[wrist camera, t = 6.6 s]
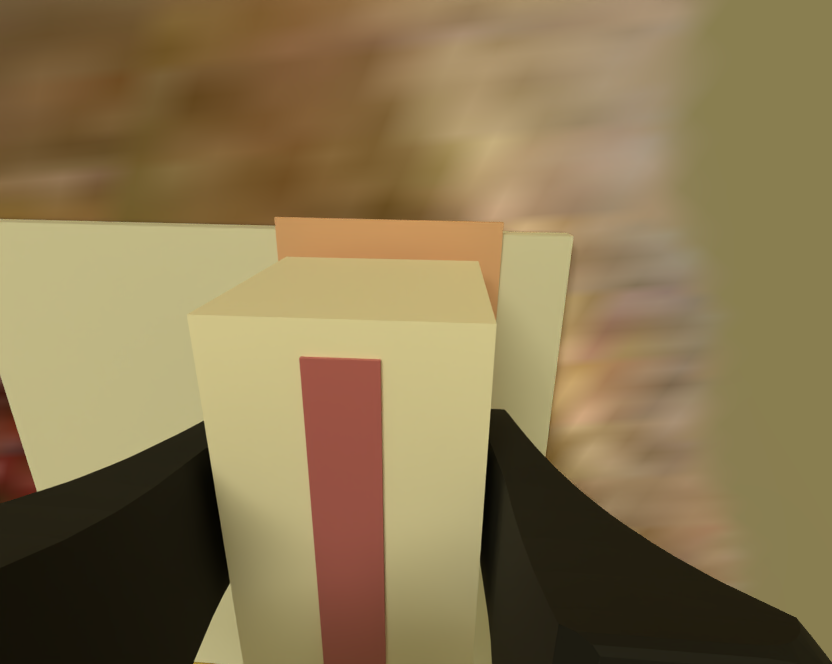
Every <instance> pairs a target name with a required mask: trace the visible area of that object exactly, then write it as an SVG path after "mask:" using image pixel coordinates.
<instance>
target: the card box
mask: <svg viewBox="0 0 832 664" xmlns="http://www.w3.org/2000/svg"><path fill="white" fill-rule="evenodd" d="M187 320H188V326H189V332H190V338H191V344H192V350H193V357H194V363H195V369H196V375H197V381H198V387H199V394H200V400H201V406H202V412H203V418H204V424H205V431H206V437H207V443H208V449H209V455H210V461H211V468H212V474H213V480H214V486H215V492H216V498H217V505H218V511H219V517H220V523H221V529H222V535H223V542H224V548H225V554H226V560H227V566H228V572H229V579H230V585H231V591H232V597H233V603H234V609H235V616H236V622H237V628H238V634H239V640H240V646H241V652H242V659H243V664H473V650H474V636H475V621H476V607H477V593H478V579H479V565H480V551H481V537H482V523H483V509H484V495H485V481H486V467H487V453H488V439H489V425H490V411H491V397H492V383H493V369H494V355H495V341H496V327H497V323H496V320H495V317H494V313H493V310H492V306H491V303H490V299H489V296H488V292H487V289H486V285H485V282H484V279H483V275H482V272H481V268H480V265H479V261H454V260H410V259H366V258H321V257H285V258H283V259H282V260H280V261H278V262H276V263H275V264H273V265H271V266H269V267H268V268H266V269H264V270H263V271H261V272H259V273H257V274H256V275H254V276H252V277H251V278H249V279H247V280H245V281H244V282H242V283H240V284H238V285H237V286H235V287H233V288H232V289H230V290H228V291H226V292H225V293H223V294H221V295H220V296H218V297H216V298H214V299H213V300H211V301H209V302H207V303H206V304H204V305H202V306H201V307H199V308H197V309H195V310H194V311H192V312H190V313H189V314H187Z"/></svg>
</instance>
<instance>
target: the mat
mask: <svg viewBox="0 0 832 664" xmlns="http://www.w3.org/2000/svg"><path fill="white" fill-rule="evenodd" d="M274 218H275V226H264V225H223V224H182V223H142V222H101V221H60V220H19V219H0V375H1V379H2V382H3V385H4V388H5V391H6V394H7V398H8V401H9V404H10V407H11V410H12V413H13V417H14V420H15V423H16V426H17V429H18V432H19V436H20V439H21V442H22V445H23V448H24V451H25V455H26V458H27V461H28V464H29V467H30V470H31V474H32V477H33V480H34V483H35V486H36V489H37V492H38V491H41V490H44V489H47V488H50V487H53V486H56V485H60V484H63V483H66V482H69V481H71V480H74V479H77V478H79V477H82V476H85V475H87V474H90V473H92V472H95V471H97V470H100V469H103V468H105V467H108V466H110V465H112V464H115V463H117V462H119V461H122V460H124V459H126V458H129V457H131V456H133V455H135V454H137V453H140V452H142V451H144V450H146V449H148V448H150V447H152V446H154V445H156V444H158V443H160V442H162V441H164V440H167V439H169V438H171V437H173V436H175V435H177V434H179V433H181V432H183V431H185V430H187V429H188V428H190V427H192V426H194V425H196V424H198V423H200V422H202V421H204V418H203V412H202V406H201V400H200V394H199V387H198V381H197V375H196V369H195V363H194V357H193V350H192V344H191V338H190V332H189V326H188V320H187V314H189V313H190V312H192V311H194V310H195V309H197V308H199V307H201V306H202V305H204V304H206V303H207V302H209V301H211V300H213V299H214V298H216V297H218V296H220V295H221V294H223V293H225V292H226V291H228V290H230V289H232V288H233V287H235V286H237V285H238V284H240V283H242V282H244V281H245V280H247V279H249V278H251V277H252V276H254V275H256V274H257V273H259V272H261V271H263V270H264V269H266V268H268V267H269V266H271V265H273V264H275V263H276V262H278V261H280V260H282V259H283V258H285V257H321V258H366V259H410V260H454V261H479V265H480V268H481V272H482V275H483V279H484V282H485V285H486V289H487V292H488V296H489V299H490V303H491V306H492V310H493V313H494V317H495V320H496V323H497V327H496V341H495V355H494V369H493V383H492V397H491V409H505V410H506V411H507V413H508V414H509V415H510V416H511V417H512V419H513V420H514V421H515V422H516V424H517V425H518V426H519V427H520V429H521V430H522V431H523V432H524V433H525V435H526V436H527V437H528V438H529V439H530V441H531V442H532V443H533V444H534V445H535V446H536V447H537V449H538V450H539V451H540V452H541V453H542V454H543V455H544V456H546V448H547V440H548V432H549V425H550V417H551V409H552V401H553V393H554V385H555V378H556V370H557V362H558V354H559V346H560V338H561V331H562V323H563V315H564V307H565V299H566V291H567V283H568V276H569V268H570V260H571V252H572V244H573V236H572V235H570V234H569V233H549V232H508V231H503V226H504V223H503V222H472V221H429V220H386V219H343V218H301V217H274ZM194 662H206V663H218V664H243V659H242V652H241V646H240V640H239V634H238V628H237V622H236V616H235V609H234V603H233V597H232V591H231V585H230V584H229V586H228V588H227V590H226V592H225V593H224V595H223V597H222V599H221V601H220V603H219V605H218V607H217V609H216V611H215V614H214V616H213V618H212V620H211V622H210V625H209V627H208V629H207V632H206V634H205V637H204V639H203V641H202V644H201V646H200V648H199V651H198V653H197V656H196V658H195V660H194ZM473 664H492V657H491V640H490V630H489V621H488V613H487V606H486V600H485V593H484V586H483V579H482V573H481V566H480V565H479V579H478V593H477V607H476V621H475V636H474V650H473Z"/></svg>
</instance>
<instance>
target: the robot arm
mask: <svg viewBox="0 0 832 664" xmlns="http://www.w3.org/2000/svg"><path fill="white" fill-rule="evenodd" d="M480 566H481V573H482V579H483V586H484V593H485V600H486V606H487V613H488V621H489V630H490V640H491V657H492V664H832V662H831V661H830V660H829V658H828V657H827V656H826V654H825V653H824V652H823V650H822V649H821V648H820V647H819V645H818V644H817V643H816V641H815V640H814V639H813V638H812V637H811V635H810V634H809V633H808V631H807V630H806V629H805V628H804V627H803V625H802V624H801V623H800V622H799V621H798V619H797V618H796V617H794V616H791V615H789V614H787V613H785V612H783V611H780V610H779V609H777V608H775V607H772V606H770V605H768V604H766V603H764V602H762V601H759V600H757V599H756V598H754V597H752V596H749V595H747V594H745V593H743V592H741V591H739V590H737V589H735V588H733V587H730V586H728V585H726V584H724V583H722V582H720V581H718V580H716V579H714V578H713V577H711V576H709V575H707V574H705V573H703V572H702V571H700V570H698V569H696V568H694V567H693V566H691V565H689V564H687V563H685V562H684V561H682V560H680V559H678V558H676V557H675V556H673V555H671V554H670V553H668V552H666V551H665V550H663V549H661V548H660V547H658V546H656V545H655V544H653V543H652V542H650V541H649V540H647V539H646V538H644V537H643V536H641V535H640V534H638V533H637V532H635V531H633V530H632V529H630V528H629V527H627V526H626V525H624V524H623V523H622V522H620V521H619V520H617V519H616V518H615V517H613V516H612V515H610V514H609V513H608V512H606V511H605V510H604V509H603V508H601V507H600V506H599V505H598V504H596V503H595V502H594V501H593V500H591V499H590V498H589V497H587V496H586V495H585V494H584V493H583V492H581V491H580V490H579V489H578V488H577V487H576V486H574V485H573V484H572V483H571V482H570V481H569V480H568V479H567V478H566V477H565V476H564V475H563V474H562V473H561V472H559V471H558V470H557V469H556V468H555V467H554V466H553V465H552V464H551V463H550V462H549V461H548V460H547V458H546V457H545V456H544V455H543V454H542V453H541V452H540V451H539V450H538V449H537V447H536V446H535V445H534V444H533V443H532V442H531V441H530V439H529V438H528V437H527V436H526V435H525V433H524V432H523V431H522V430H521V429H520V427H519V426H518V425H517V424H516V422H515V421H514V420H513V419H512V417H511V416H510V415H509V414H508V413H507V411H506V410H505V409H491V411H490V425H489V439H488V453H487V467H486V481H485V495H484V509H483V523H482V537H481V551H480ZM229 584H230V579H229V572H228V566H227V560H226V554H225V548H224V542H223V535H222V529H221V523H220V517H219V511H218V505H217V498H216V492H215V486H214V480H213V474H212V468H211V461H210V455H209V449H208V443H207V437H206V431H205V424H204V421H202V422H200V423H198V424H196V425H194V426H192V427H190V428H188V429H187V430H185V431H183V432H181V433H179V434H177V435H175V436H173V437H171V438H169V439H167V440H164V441H162V442H160V443H158V444H156V445H154V446H152V447H150V448H148V449H146V450H144V451H142V452H140V453H137V454H135V455H133V456H131V457H129V458H126V459H124V460H122V461H119V462H117V463H115V464H112V465H110V466H108V467H105V468H103V469H100V470H97V471H95V472H92V473H90V474H87V475H85V476H82V477H79V478H77V479H74V480H71V481H69V482H66V483H63V484H60V485H56V486H53V487H50V488H47V489H44V490H41V491H38V492H35V493H32V494H29V495H26V496H23V497H20V498H17V499H14V500H11V501H7V502H4V503H1V504H0V664H193V663H194V660H195V658H196V656H197V653H198V651H199V648H200V646H201V644H202V641H203V639H204V637H205V634H206V632H207V629H208V627H209V625H210V622H211V620H212V618H213V616H214V614H215V611H216V609H217V607H218V605H219V603H220V601H221V599H222V597H223V595H224V593H225V592H226V590H227V588H228V586H229Z"/></svg>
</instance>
